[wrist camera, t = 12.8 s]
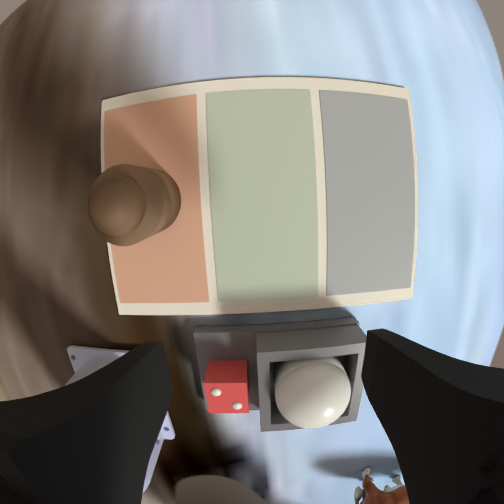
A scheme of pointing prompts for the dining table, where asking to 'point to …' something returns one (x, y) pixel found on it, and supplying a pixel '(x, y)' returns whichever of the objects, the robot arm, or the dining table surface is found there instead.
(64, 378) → the dining table surface
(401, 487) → the bull figurine
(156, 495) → the dining table surface
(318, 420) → the dome
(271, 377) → the grey open box
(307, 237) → the game board
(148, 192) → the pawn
